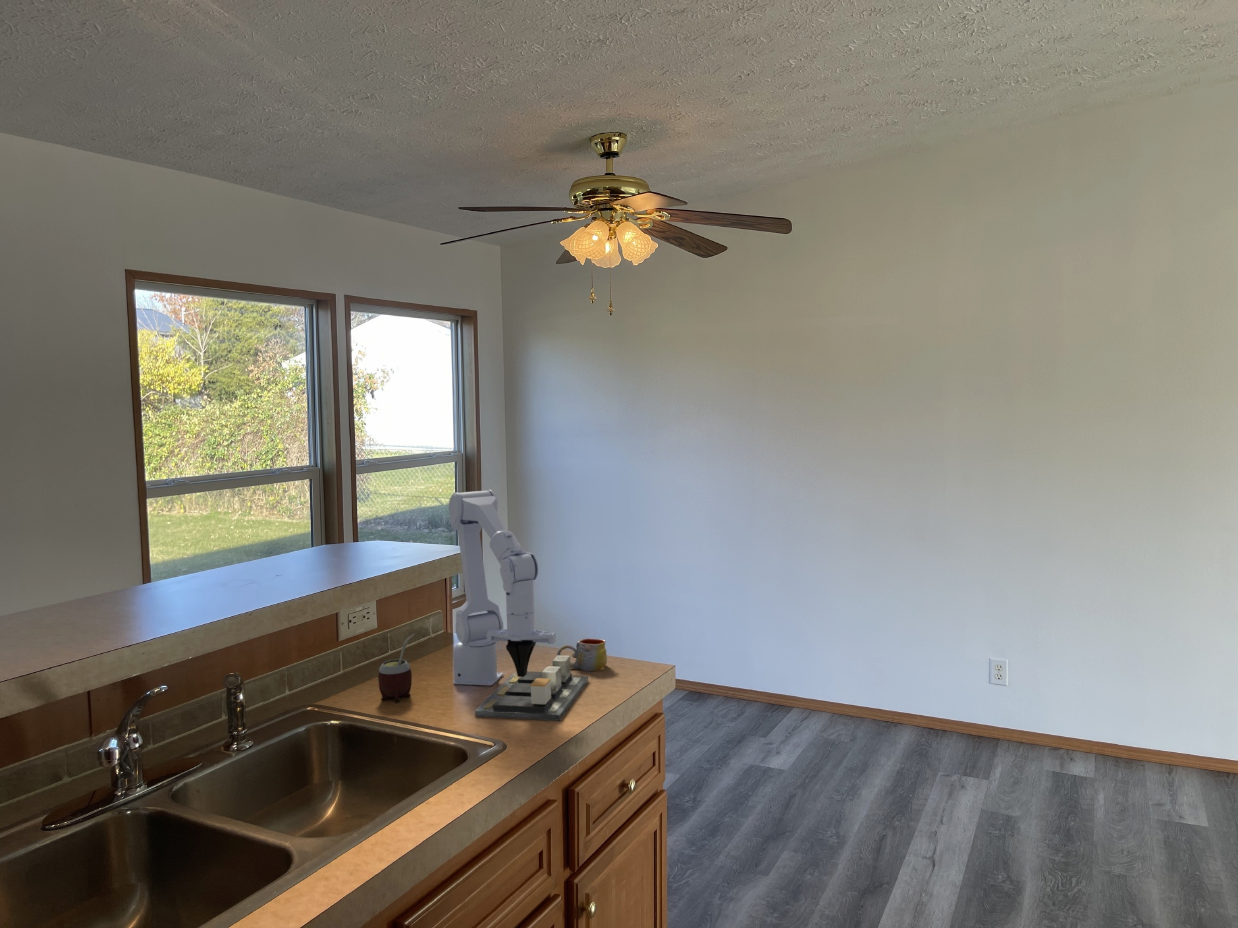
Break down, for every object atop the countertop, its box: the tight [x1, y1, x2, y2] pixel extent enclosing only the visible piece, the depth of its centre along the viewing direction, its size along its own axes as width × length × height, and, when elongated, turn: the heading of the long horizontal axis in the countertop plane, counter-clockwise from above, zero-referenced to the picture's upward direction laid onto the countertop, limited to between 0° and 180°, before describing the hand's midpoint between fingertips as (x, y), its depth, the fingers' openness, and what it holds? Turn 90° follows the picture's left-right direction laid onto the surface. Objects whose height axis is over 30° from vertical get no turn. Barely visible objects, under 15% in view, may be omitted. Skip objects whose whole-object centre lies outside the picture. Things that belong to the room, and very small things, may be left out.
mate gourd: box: [377, 632, 416, 704], centre depth 181 cm, size 8×8×15 cm
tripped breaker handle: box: [531, 678, 551, 704], centre depth 171 cm, size 3×4×4 cm
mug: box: [556, 638, 608, 672], centre depth 200 cm, size 12×7×7 cm, turn 92°
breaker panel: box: [474, 654, 589, 722], centre depth 179 cm, size 18×24×6 cm
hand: (522, 675), depth 174 cm, fingers closed
